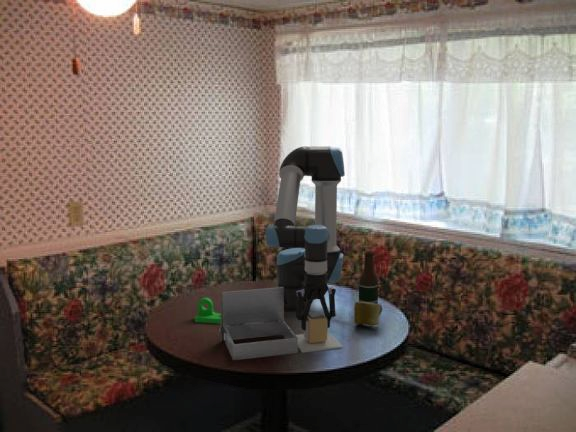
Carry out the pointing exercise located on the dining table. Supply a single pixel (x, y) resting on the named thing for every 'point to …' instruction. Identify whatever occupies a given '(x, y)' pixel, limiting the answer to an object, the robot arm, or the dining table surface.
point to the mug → (367, 313)
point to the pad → (317, 344)
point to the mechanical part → (207, 312)
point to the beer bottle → (368, 281)
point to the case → (255, 323)
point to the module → (317, 327)
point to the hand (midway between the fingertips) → (315, 337)
